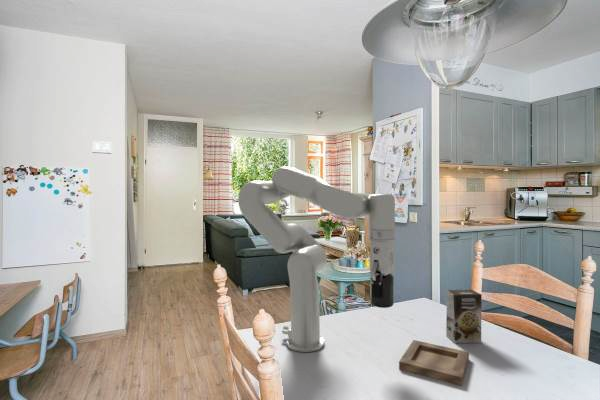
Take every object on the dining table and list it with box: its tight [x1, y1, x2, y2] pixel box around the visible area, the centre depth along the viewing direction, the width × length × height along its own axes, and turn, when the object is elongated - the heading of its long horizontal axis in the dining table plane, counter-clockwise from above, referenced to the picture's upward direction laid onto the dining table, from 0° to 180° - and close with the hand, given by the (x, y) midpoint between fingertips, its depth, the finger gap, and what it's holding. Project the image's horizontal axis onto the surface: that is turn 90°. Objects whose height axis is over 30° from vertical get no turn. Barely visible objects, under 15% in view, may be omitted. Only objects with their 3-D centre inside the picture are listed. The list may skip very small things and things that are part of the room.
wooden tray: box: [398, 339, 470, 387], centre depth 98 cm, size 16×16×2 cm
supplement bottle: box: [369, 272, 395, 309], centre depth 101 cm, size 7×7×12 cm
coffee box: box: [445, 289, 483, 344], centre depth 113 cm, size 9×6×16 cm
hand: (381, 293), depth 101 cm, fingers closed on supplement bottle, 6 cm apart
